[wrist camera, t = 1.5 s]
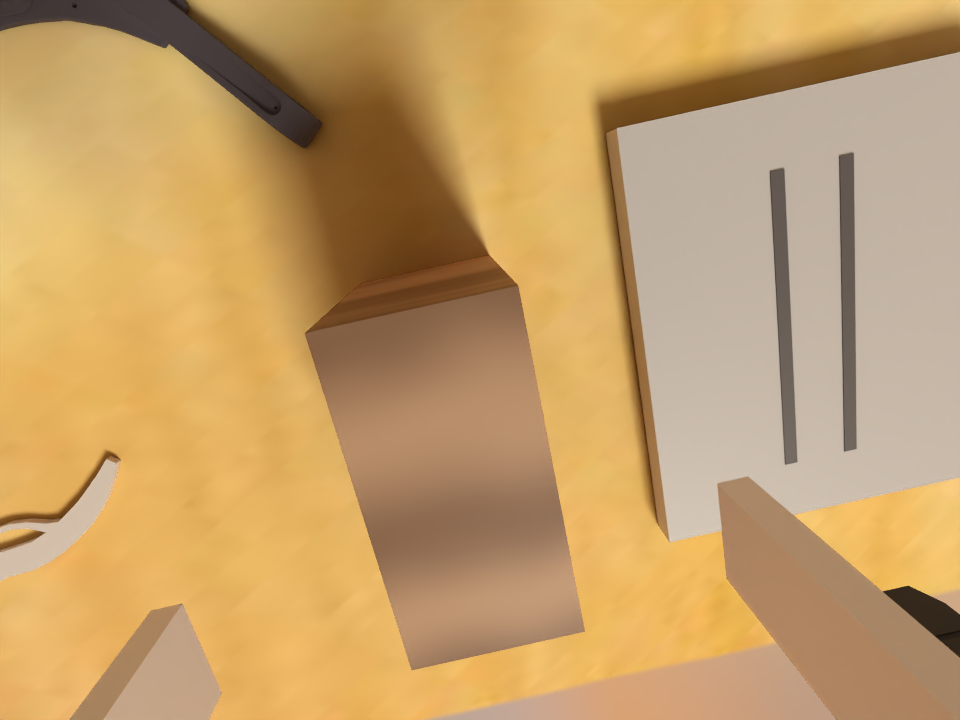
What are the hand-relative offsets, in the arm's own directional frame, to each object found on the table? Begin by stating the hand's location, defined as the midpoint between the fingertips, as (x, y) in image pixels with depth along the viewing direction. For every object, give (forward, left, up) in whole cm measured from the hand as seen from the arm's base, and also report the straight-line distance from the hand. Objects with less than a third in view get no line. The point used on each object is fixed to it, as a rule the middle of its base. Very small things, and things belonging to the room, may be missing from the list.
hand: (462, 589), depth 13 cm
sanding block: (0, 0, -14) cm, 14 cm away
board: (0, +17, -14) cm, 22 cm away
